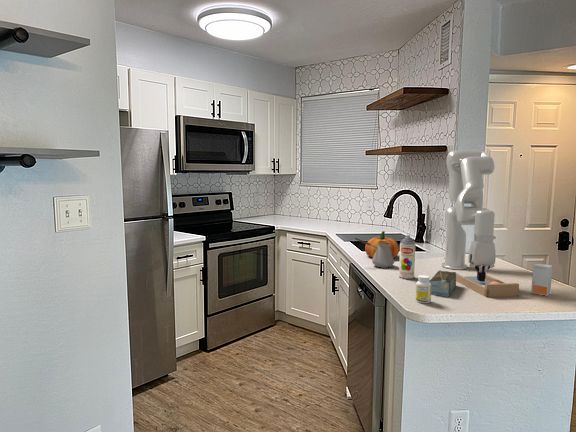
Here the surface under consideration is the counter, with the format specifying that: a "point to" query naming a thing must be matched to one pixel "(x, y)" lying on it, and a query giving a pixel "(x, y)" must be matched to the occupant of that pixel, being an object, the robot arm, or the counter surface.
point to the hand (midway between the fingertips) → (481, 280)
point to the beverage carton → (443, 283)
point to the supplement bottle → (423, 289)
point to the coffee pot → (381, 254)
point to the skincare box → (541, 279)
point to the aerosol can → (407, 258)
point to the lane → (489, 286)
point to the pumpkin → (371, 250)
